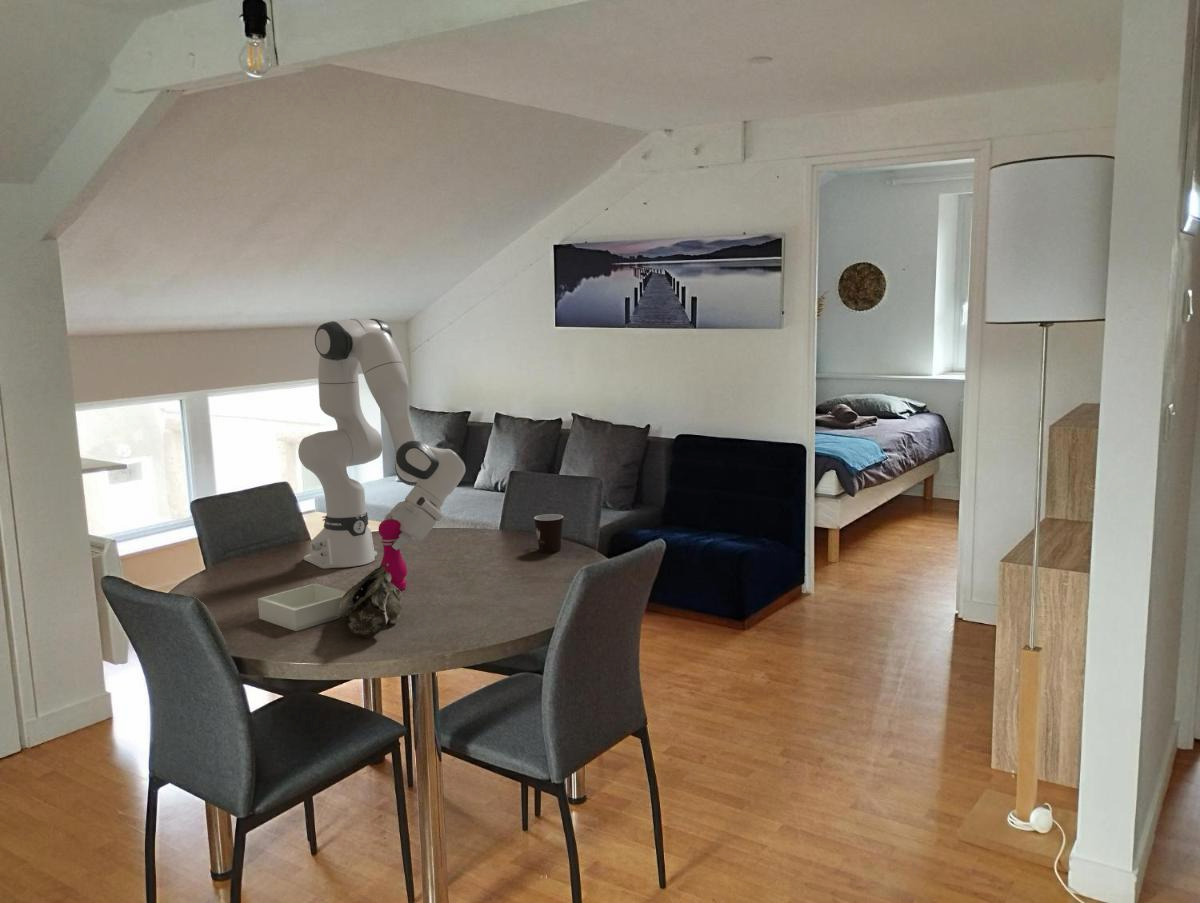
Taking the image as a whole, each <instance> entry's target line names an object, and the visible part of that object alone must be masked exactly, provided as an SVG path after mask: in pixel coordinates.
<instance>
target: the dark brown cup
mask: <svg viewBox="0 0 1200 903" xmlns="http://www.w3.org/2000/svg"><path fill="white" fill-rule="evenodd" d="M533 521H534V525H535V532H536V538H537V543H538V550H539V552H540V553H544V554H545V553H548V554H552V553H557V552H560V551H561V549H562V538H563V537H562V536H563V524H564V515H562V514H559V513H558V514H557V513H556V514H555V513H547V514H540V515H535V516H534V517H533Z"/></svg>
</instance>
